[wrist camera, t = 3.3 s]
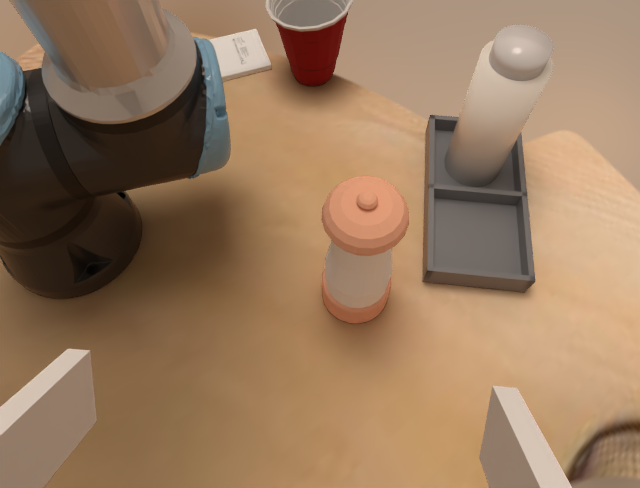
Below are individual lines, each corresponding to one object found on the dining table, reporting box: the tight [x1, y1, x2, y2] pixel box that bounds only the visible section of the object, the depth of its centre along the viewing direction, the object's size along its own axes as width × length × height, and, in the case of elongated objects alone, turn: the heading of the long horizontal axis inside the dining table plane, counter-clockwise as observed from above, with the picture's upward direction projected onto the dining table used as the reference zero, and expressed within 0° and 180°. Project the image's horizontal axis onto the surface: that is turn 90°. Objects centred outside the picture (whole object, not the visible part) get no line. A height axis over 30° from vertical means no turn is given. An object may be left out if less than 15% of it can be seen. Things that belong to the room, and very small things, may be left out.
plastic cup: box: [266, 0, 353, 86], centre depth 64 cm, size 11×11×12 cm
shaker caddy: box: [423, 115, 535, 292], centre depth 57 cm, size 11×22×3 cm, turn 173°
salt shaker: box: [444, 25, 553, 187], centre depth 52 cm, size 7×7×18 cm
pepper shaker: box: [322, 176, 409, 323], centre depth 45 cm, size 7×7×19 cm
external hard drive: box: [209, 29, 272, 82], centre depth 71 cm, size 2×8×12 cm
